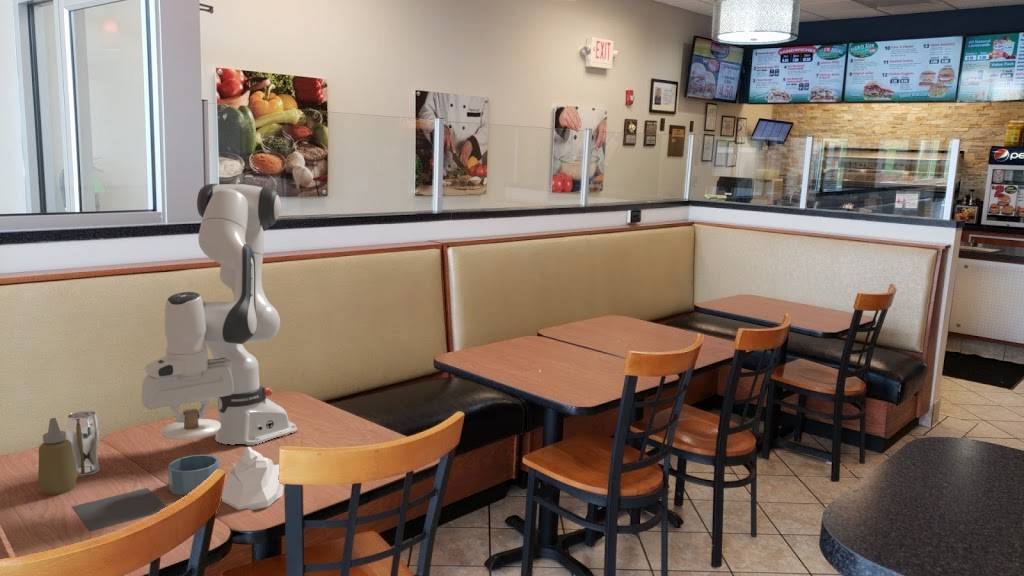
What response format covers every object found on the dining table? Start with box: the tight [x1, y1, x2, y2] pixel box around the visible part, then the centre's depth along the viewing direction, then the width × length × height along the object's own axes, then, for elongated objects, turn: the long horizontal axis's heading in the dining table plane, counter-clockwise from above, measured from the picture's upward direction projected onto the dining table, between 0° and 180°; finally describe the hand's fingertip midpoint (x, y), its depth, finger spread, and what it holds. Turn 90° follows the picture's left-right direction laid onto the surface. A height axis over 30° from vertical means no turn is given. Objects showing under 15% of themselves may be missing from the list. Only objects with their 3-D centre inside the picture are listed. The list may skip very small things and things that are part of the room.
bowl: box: [167, 454, 221, 496], centre depth 186 cm, size 11×11×6 cm
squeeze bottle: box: [37, 417, 78, 496], centre depth 183 cm, size 8×8×18 cm
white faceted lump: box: [221, 446, 285, 511], centre depth 178 cm, size 12×15×14 cm
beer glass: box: [66, 410, 101, 477], centre depth 196 cm, size 7×7×15 cm
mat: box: [71, 487, 168, 532], centre depth 174 cm, size 16×16×1 cm
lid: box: [160, 408, 221, 441], centre depth 184 cm, size 13×13×5 cm
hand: (190, 420), depth 184 cm, fingers closed on lid, 3 cm apart
